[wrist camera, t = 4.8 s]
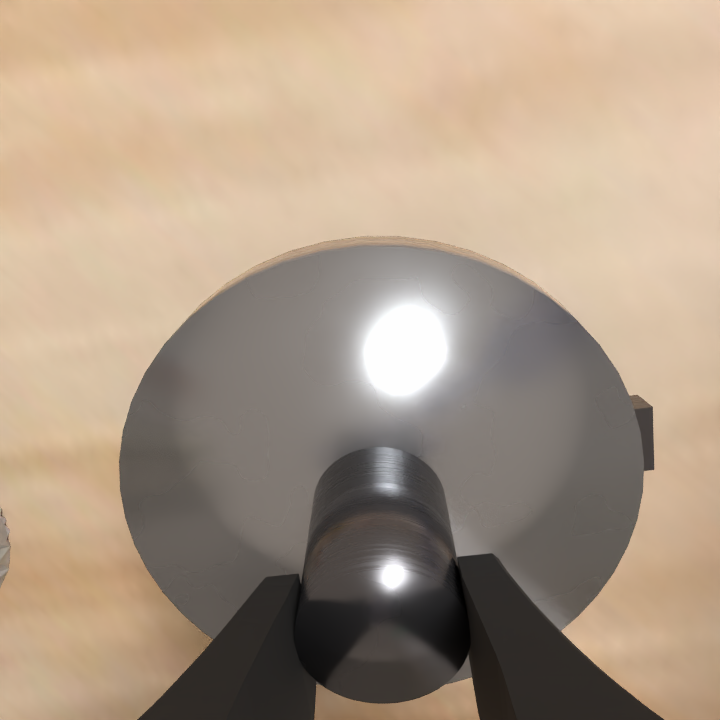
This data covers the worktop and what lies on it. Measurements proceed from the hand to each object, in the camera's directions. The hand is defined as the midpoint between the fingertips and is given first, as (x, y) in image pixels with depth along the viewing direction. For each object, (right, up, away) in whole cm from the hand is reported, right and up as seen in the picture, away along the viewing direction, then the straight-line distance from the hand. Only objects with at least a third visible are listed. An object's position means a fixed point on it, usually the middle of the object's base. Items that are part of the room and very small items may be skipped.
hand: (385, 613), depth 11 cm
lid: (0, +2, +3) cm, 4 cm away
